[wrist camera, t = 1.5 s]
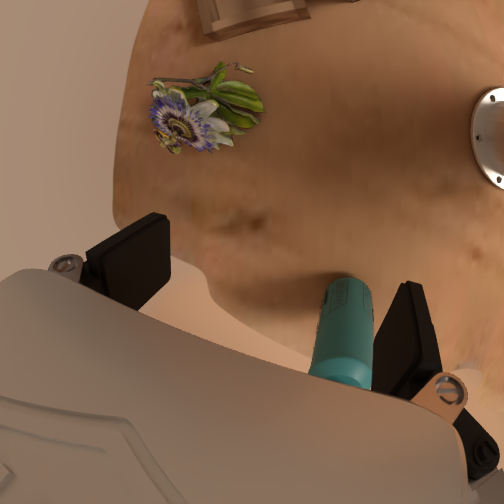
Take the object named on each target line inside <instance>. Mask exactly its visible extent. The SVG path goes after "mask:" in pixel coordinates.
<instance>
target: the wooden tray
mask: <svg viewBox="0 0 504 504" xmlns="http://www.w3.org/2000/svg"><path fill="white" fill-rule="evenodd" d="M196 2H197V6H198V11H199V15H200V20H201V24H202V29H203V33H204V35H205V36H207V37H210V38H212V39H214V40H216V41H221V40H224V39H227V38H231V37H234V36H237V35H241V34H244V33H248V32H251V31H255V30H259V29H263V28H267V27H271V26H275V25H280V24H284V23H289V22H294V21H299V20H305V19H311V17H310V14H309V11H308V8H307V5H306V1H305V0H196Z"/></svg>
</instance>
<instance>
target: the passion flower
mask: <svg viewBox="0 0 504 504" xmlns="http://www.w3.org/2000/svg"><path fill="white" fill-rule="evenodd" d="M234 63H236V64H237V65H236V67H235V70H241V71H245V72H247V73H250V74H253V73H254V71H253V70H252V69H249V68H247V67H244V66H241V65H240V64H239V63H237V62H232V63H230V64H228V65H226V66H225V64H224V63H223V62H220V63H219V64H218V65H217V66H216V68H215V70H214V72H213V73H212V74H211V75H210V76H209V77H205V78H198V79H192V80H189V79H171V78H154V79H153V80H152V81H150V82H149V83H147V85H154V86H156V87H157V89H154V90H153V91H152V97H153V103H152V105H150V106H149V108H150V109H151V111H149V110H148V112H151V113H152V114H151V116H149V118H152V123H153V124H154V126H155V127H157V128H153V131H154V133H155V138H156V139H157V140H158V141H159V142H160V145H161V146H162V147H164V148H168V150H169V151H170V152H171V153H173V154H178V153H179V152H180V151H181V150H182V149H181V148H182V143H181V142H180V141H178V140H179V139H180V140H182V141H184V142H185V144H188V145H190V147H191V146H192V145H193V146H194V147H195V148H196V149H197V150H198V151H199V152H201V151H203V150H204V149H208V150H209V152H211V151H210V150H212V147H213V148H216V149H220V146H221V143H222V144H226V145H229V146H231V147H233V146H234V143H233V139H232V137H231V134H233V135H239V136H240V135H244V134H246V132H244V131H242V130H239V129H238V128H236V127H235V126H238V127H241V128H251V127H253V126H254V125H255V124H256V123H257V124H259V123H260V120H259V119H257V118H256V117H255V116H254V115H252V114H250V113H246V112H243V111H241V110H238V109H233V108H232V107H231V106H229V104H228V102H229V103H230V104H234V105H237V106H239V107H243V108H246V109H247V108H248V109H251V110H252V111H254V112H260V113H261V112H262V113H266V111H265V109H264V107H263V102H262V101H261V99H260V97H259V96H258V95H257V93H256V92H255V91H254V90H253V89H252V87H251V86H249V85H247V84H245V83H243V82H241V81H222V80H223V79H224V78H225V75H226V67H228V66H230V65H232V64H234ZM165 81H173V82H174V81H175V82H188V83H192V84H194V85H195V86H197V87H199V88H200V89H199V88H197V87H195V86H190V87H187V88H183V87H179V86H173V85H172V86H171V87H170V88H167V89H166V88H165V85H164V84H163V83H162V82H165ZM207 83H210V85H209V86H208V87H205V86H204V85H205V84H207ZM192 98H197V101H196V103H195V104H193V105H192V106H191V105H190V103H189V102H188V99H192ZM198 100H199V101H200V102H198ZM215 110H217V111H218V113H219V114H220V116H221V117H222V118H223V119H224V120H223V119H222V118H221V117H220V116H219V115H218V114H217V113H216V111H215ZM231 124H234V125H235V126H233V125H231ZM158 128H159V129H160V130H159V129H158ZM176 139H177V140H176ZM211 153H212V152H211Z"/></svg>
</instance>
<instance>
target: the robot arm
mask: <svg viewBox="0 0 504 504" xmlns="http://www.w3.org/2000/svg"><path fill="white" fill-rule="evenodd" d="M490 98H491V100H490ZM470 135H471V143H472V149H473V152H474V155H475V158H476V161H477V163H478V165H479V167H480V169H481V170H482V172H483V173H484V175H485V176H486V177H487V178H488V179H489V180H490V181H491V182H492V183H493V184H495V185H496V186H498V187H499V188H501V189H503V190H504V88H495V89H492V90H490V91H487V92H486V93H485V94H484V95H482V96H481V98H480V99H479V100H478V102H477V103H476V106H475V108H474V110H473V114H472V118H471V126H470ZM476 136H477V137H478V139H477V140H476ZM496 178H497V180H496ZM86 258H87V261H85V262H83V259H82V257H81V256H79V255H75V254H68V255H63V256H61V257H58V258H56V259H55V260H54V261H52V262H51V264H50V266H49V268H48V271H47V270H42V269H23V270H20V271H18V272H16V273H14V274H12V275H10V276H9V277H7V278H5V279H4V280H2V281H1V282H0V504H504V471H503V469H502V468H501V469H500V470H498V469H497V465H498V463H499V458H500V453H499V448H498V445H497V443H496V442H495V440H494V439H493V438H492V437H491V436H490V435H489V434H488V433H487V432H486V430H484V428H483V427H482V426H481V425H480V424H479V423H478V422H477V421H476V420H475V419H474V418H473V417H472V416H471V415H470V413H469V412H468V411H467V410H466V409H465V408H464V406H465V405H466V402H467V400H468V392H467V389H466V387H465V385H464V383H463V382H462V381H461V380H460V379H459V378H458V377H456V376H455V375H453V374H451V373H447V372H443V370H442V364H441V359H440V353H439V348H438V343H437V339H436V334H435V330H434V326H433V324H432V322H431V317H430V313H429V309H428V306H427V302H426V298H425V294H424V291H423V287H422V285H421V284H419V283H415V282H412V281H406V283H405V284H404V283H401V284H400V286H399V288H398V290H397V293H396V295H395V297H394V299H393V302H392V304H391V306H390V308H389V310H388V312H387V314H386V316H385V318H384V320H383V322H382V324H381V326H380V328H379V330H378V332H377V334H376V336H375V339H374V343H373V362H372V380H371V390H367V389H364V388H360V387H356V386H352V385H348V384H344V383H340V382H336V381H332V380H328V379H325V378H321V377H317V376H314V375H310V374H306V373H303V372H300V371H296V370H293V369H289V368H286V367H283V366H280V365H277V364H273V363H271V362H267V361H264V360H261V359H258V358H255V357H252V356H249V355H246V354H244V353H240V352H238V351H235V350H232V349H229V348H226V347H224V346H221V345H218V344H216V343H213V342H210V341H208V340H205V339H203V338H200V337H197V336H195V335H192V334H190V333H187V332H185V331H182V330H180V329H178V328H175V327H173V326H170V325H168V324H166V323H163V322H161V321H159V320H156V319H154V318H152V317H149V316H147V315H145V314H143V313H140V312H138V310H139V309H140V308H141V307H142V306H143V305H144V304H145V303H146V302H147V301H148V300H149V299H150V298H151V297H152V296H153V295H155V293H157V292H158V291H159V290H160V289H161V288H162V287H163V286H164V285H165V284H166V283H167V282H168V281H169V279H170V277H171V260H170V221H169V220H168V219H167V216H166V215H163V214H159V213H155V212H152V213H150V214H148V215H147V216H145V217H143V218H141V219H140V220H138V221H136V222H134V223H133V224H131V225H129V226H127V227H126V228H124V229H122V230H121V231H119V232H117V233H116V234H114V235H112V236H111V237H109V238H107V239H106V240H104V241H102V242H101V243H99V244H97V245H96V246H94V247H93V248H91V249H89V250H88V251H86Z"/></svg>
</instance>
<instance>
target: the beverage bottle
mask: <svg viewBox="0 0 504 504" xmlns="http://www.w3.org/2000/svg"><path fill="white" fill-rule="evenodd" d="M325 290H326V291H325V292H324V293H325V294H323V295H324V299H323V298H322V301H323V305H322V306H321V308H322V310H321V315H320V313H319V315H320V317H319V319H320V320H319V319H318V320H319V321H318V322H319V325H318V324H317V329H318V331H317V332H316V334H317V335H316V341H315V347H313V351H314V352H313V357H312V362H311V366H310V369H309V372H308V374H310V375H314V376H317V377H321V378H325V379H328V380H332V381H336V382H340V383H344V384H348V385H352V386H356V387H360V388H364V389H367V390H369V389H370V387H371V380H372V362H373V338H374V337H373V335H374V334H373V325H374V318H373V312H374V310H373V308H372V306H373V304H372V299H371V293H370V290H369V288H368V286H367V285H366V284H365V283H363V282H362V281H361V280H359V279H356V278H352V277H344V278H340V279H337V280H335V281H334V282H332V283H331V284H330V285H329V286H328V288H327V289H325ZM372 297H373V296H372ZM321 308H320V309H321Z"/></svg>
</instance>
